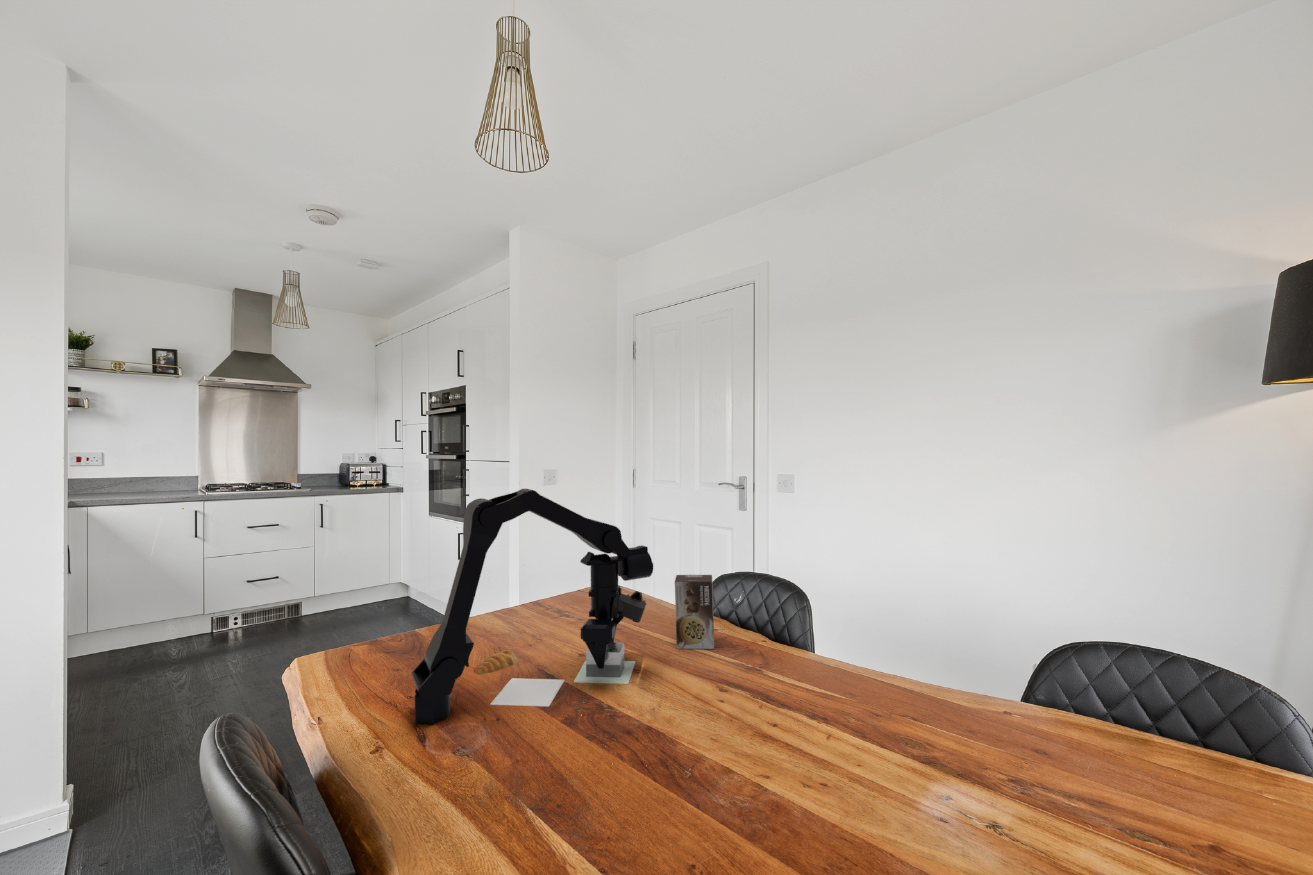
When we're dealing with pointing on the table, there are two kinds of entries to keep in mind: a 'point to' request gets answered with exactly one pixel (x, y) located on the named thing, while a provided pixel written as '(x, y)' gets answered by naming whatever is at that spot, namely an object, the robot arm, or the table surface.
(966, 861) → the table surface
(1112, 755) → the table surface
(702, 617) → the coffee box
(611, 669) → the block
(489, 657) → the pastry
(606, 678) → the stand
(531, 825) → the table surface
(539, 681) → the stand
